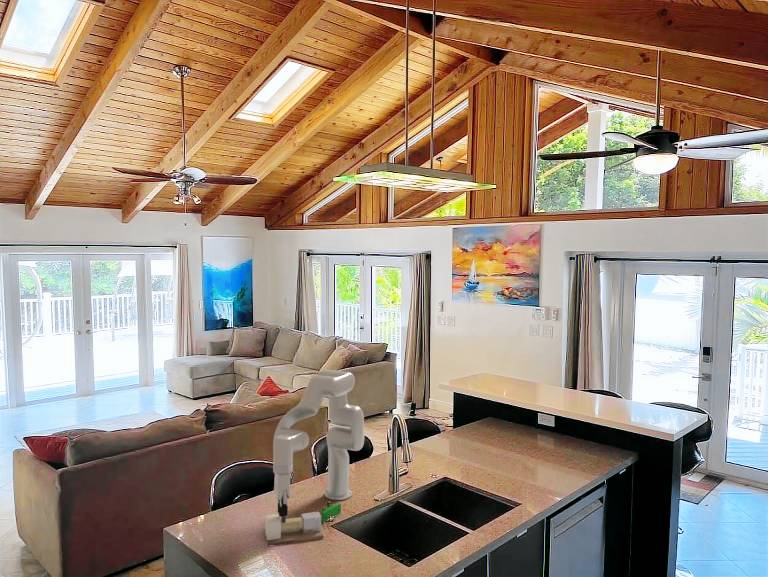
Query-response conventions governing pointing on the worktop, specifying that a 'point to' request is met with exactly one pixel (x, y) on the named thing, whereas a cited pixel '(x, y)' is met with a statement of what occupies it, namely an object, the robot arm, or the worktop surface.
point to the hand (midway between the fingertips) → (282, 513)
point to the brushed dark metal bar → (291, 523)
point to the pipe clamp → (330, 511)
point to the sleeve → (311, 522)
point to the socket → (272, 527)
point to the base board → (294, 537)
